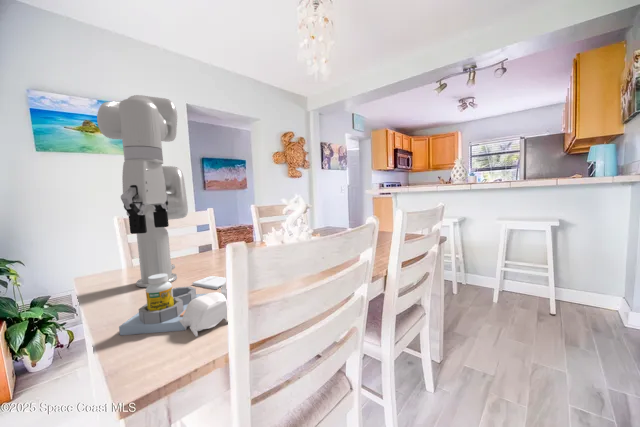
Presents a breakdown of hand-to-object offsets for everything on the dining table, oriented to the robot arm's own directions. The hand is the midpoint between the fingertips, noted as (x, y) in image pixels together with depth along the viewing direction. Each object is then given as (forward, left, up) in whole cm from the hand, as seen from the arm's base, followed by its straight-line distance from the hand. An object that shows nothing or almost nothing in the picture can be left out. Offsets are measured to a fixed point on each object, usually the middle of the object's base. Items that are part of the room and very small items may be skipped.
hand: (151, 229), depth 63 cm
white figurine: (+2, +14, -23) cm, 27 cm away
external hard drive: (-26, +5, -23) cm, 36 cm away
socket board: (-3, +1, -22) cm, 23 cm away
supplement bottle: (+1, +1, -21) cm, 21 cm away
